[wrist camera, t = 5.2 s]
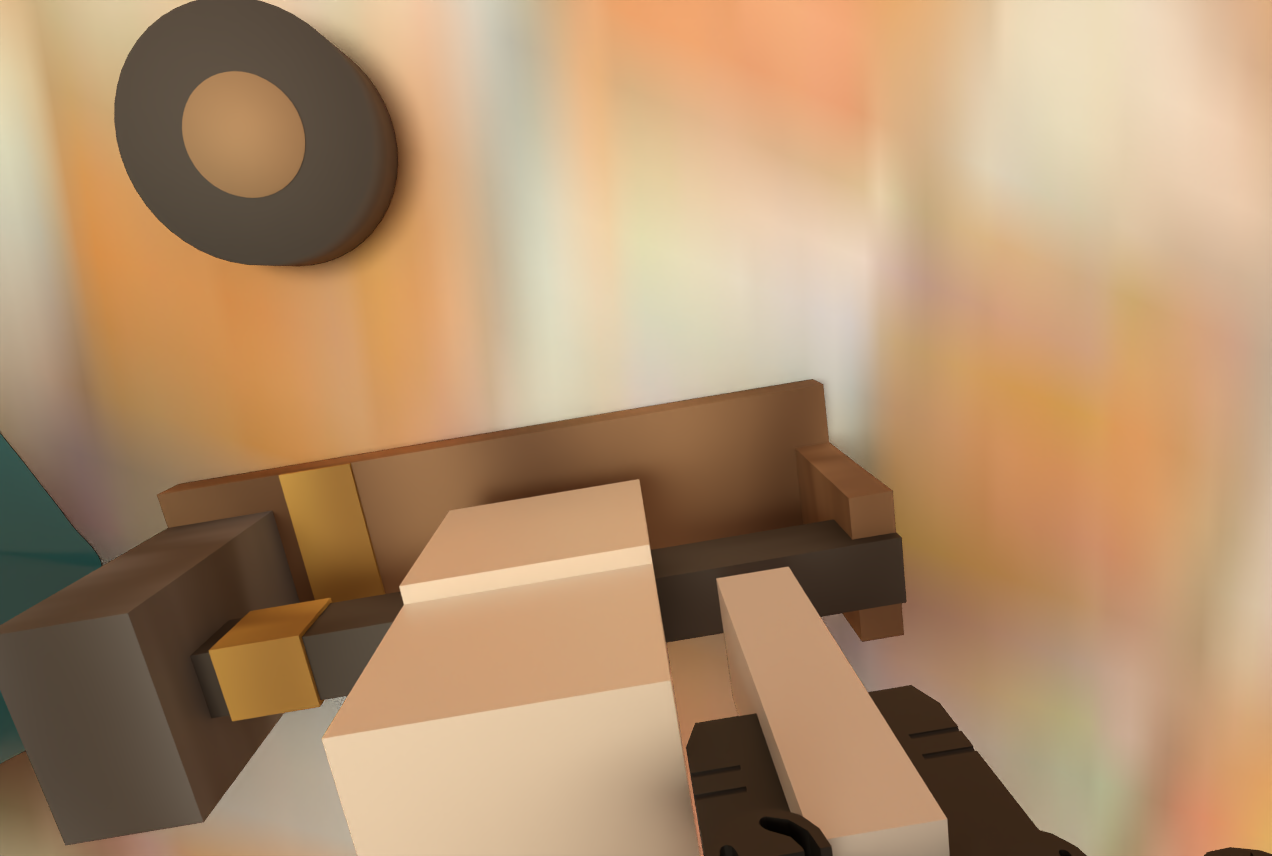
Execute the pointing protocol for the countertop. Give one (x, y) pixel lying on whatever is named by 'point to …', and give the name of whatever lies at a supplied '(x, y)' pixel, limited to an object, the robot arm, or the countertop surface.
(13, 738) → the vase
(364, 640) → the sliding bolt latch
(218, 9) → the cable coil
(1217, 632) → the countertop surface
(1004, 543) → the countertop surface
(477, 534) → the sleeve
